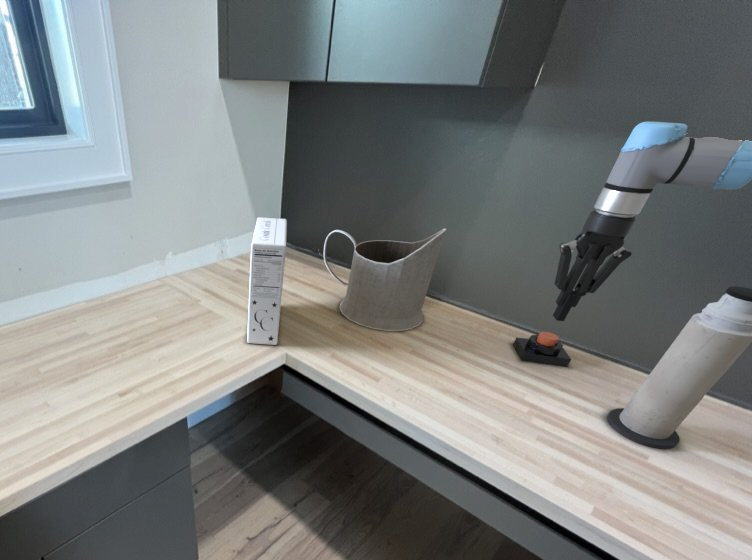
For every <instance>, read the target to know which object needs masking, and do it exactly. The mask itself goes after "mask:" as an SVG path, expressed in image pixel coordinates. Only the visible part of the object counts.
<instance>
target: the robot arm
mask: <svg viewBox="0 0 752 560" xmlns="http://www.w3.org/2000/svg"><path fill="white" fill-rule="evenodd" d="M687 131H688V125H687V124H686V123H682V122H681V123H679V122H667V121H666V122H665V121H642V122H640V123H638V124H637V125H635V126H634V128H633V129H632V131H631V133H630V134H629V136H628V138H627V140H626V142H625V143H624V145H623V147H622V148H621V149H620V152H619V155H618V157H617V159H616V160H615V163H614V165H613V166H612V169H611V171H610V173H609V175H608V177H607V180H606V181H605V183H604V185H603V187H602V189H601V191H600V193H599V195H598V197H597V198H596V201H595V203H594V205H593V208H594V210H591V211H590V212H589V214H588V217H587V219H586V221H585V223H584V225H583V227H582V230H581V232H580V233H579V234H578V235H576V237H575V238H574V240H571V241H568V242H567V243H566V242H561V243H560V244H559V246H558V247H559V251H560V257H559V260H558V266H557V271H556V275H555V279H554V285H555V287H556V288H557V289H558V290H560V293H559V294H558V296H557V298H556V300H555V303H556V305H557V306H556V308H555V310H554V312H553V314H552V317H553V318H554V319H555V320H556V321H558V322H564V321H565V320H566V318H567V317H568V314H569V312H570V311H571V309H572V308H576V307H577V306H578V304H579V302H580V300H581V299H582V297H585V296H586V295H587V294H589V293H590V294H595V292H597V291H598V290H599V288H600V287H601V286H602V285H603V283H605V281H606V280H607V279H608V278H609V277H610V276H611V275H612V273H613V272H615V270H616V269H617V268H618V267H619V266H620V265H621V263H623V262H624V261H626V260H627V259H628V258H630V257H631V256H632V252H631V251H630V250H628V249H627V248H625V246H624V244H625V238H626V237H627V235H628V234H630V231H631V229H632V227H633V225H634V224H635V222H636V220H637V218H636V216H637V215H640V213H641V211H642V210H643V208H644V206H645V204H646V202H647V201H648V199H649V197H650V195H651V193H652V192H653V190H654V188H655V187H656V185H657V184H666V185H668V184H669V185H671V184H672V185H679V186H688V187H695V188H696V187H697V188H704V189H705V188H706V189H712V190H714V191H715V190H733V191H734V190H738V189H741V188H743V187H744V186H746V185H747V184H749V183H750V182H751V181H752V141H749V140H745V141H742V140H728V139H724V138H719V137H703V138H692V137H685V135H686V134H687ZM575 248H576V252H577V254H576V256H575V260H574V263H573V264H572V267H571V269H570V265H571V261H572V258H573V257H572V256H573V255H572V253H574V252H575ZM608 257H609V258H608ZM606 258H608V259H607V260H606ZM605 260H606V261H605Z"/></svg>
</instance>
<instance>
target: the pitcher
mask: <svg viewBox="0 0 752 560" xmlns="http://www.w3.org/2000/svg"><path fill="white" fill-rule="evenodd" d="M446 232H447V228H442V229H440V230H439V231H438V232H436V233H434V234H432V235H430V236H429V237H427V238H424V239H422V240H418V241H415V242H407V241H398V240H388V239H387V240H384V239H383V240H381V239H380V240H379V239H376V240H367V241H363V242H359V243H357V242H356V239H355V238H354V237H353V236H352V235H351V234H350V233H348V232H346V231H344V230H342V229H334V230H332V231H331V232H329V233H328V234H327V236H326V238H325V240H324V245H323V262H324V264H325V267H326V269H327V271H328V272H329V273H330V275H331V276H332V277H333V278H334V279H335V280H336V281H337V282H339V284H341V285H343V286H347V288H346V293H345V296H344V297H343V299H342V300H341V301H340V305H339V310H340V312H341V314H342V315H343V316H344V317H345V318H347V319H348V320H349V321H351V322H353V323H355V324H357V325H360V326H362V327H366V328H368V329H372V330H378V331H386V332H401V331H402V332H403V331H409V330H412V329H414V328H417V327H418V326H420V325H421V324H422V322H423V321H424V319H423V311H422V309H423V307H424V303H425V300H426V297H427V294H428V290H429V287H430V284H431V281H432V277H433V274H434V271H435V267H436V265H437V261H438V258H439V255H440V252H441V248H442V245H443V242H444V239H445V236H446ZM334 233H340V234H343V235H345V236H346V237H347V238H349V239H350V241H351V242H352V244H353V247H354V251H353V255H352V262H351V267H350V273H349V277H348V281H347V282H345V281H343V280H341V279H340V278H339V277H338V276H337V275H336V274H335V273H334V271H333V270H332V268H331V267H330V265H329V263H328V259H327V245H328V241H329V239H330V236H331V235H332V234H334Z"/></svg>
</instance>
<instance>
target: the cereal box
mask: <svg viewBox="0 0 752 560" xmlns="http://www.w3.org/2000/svg"><path fill="white" fill-rule="evenodd" d="M287 227H288V220H287V219H286V218H275V217H274V218H273V217H257V218H256V223H255V227H254V231H253V236H252V239H251V240H252V241H251V244H250V267H249V286H248V287H249V289H248V290H249V291H248V310H247V333H246V334H247V335H246V336H247V337H246V338H247V339H246V343H248V344H255V345H256V344H258V345H272V346H277V345H278V339H279V329H280V317H281V308H282V307H281V306H282V296H283V284H284V276H285V274H284V273H285V265H286V264H285V263H286V255H287V254H286V252H287V233H288V232H287V229H288V228H287Z"/></svg>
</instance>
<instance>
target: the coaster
mask: <svg viewBox="0 0 752 560" xmlns="http://www.w3.org/2000/svg"><path fill="white" fill-rule="evenodd" d="M624 408H625V407H624ZM624 408H623V407H619V408H613V409H612V410H610V411H609V412H608V414H607V415H606V419H607V422H608V424H609V425H610V426H611V428H613V430H615V431H616V432H617V433H619V435H622V436H623V437H625V438H626V439H629V440H630V441H633V442H635V443H637V444H640V445H642V446H645V447H648V448H653V449H661V450H668V449H672V448H674V447H676V446H677V445H678V444H679V443H680V440H681V439H680V435H679V434H678V432H677V431H676V430H675V431H674V432H673V433H672V434H671V436H670V437H668V438H666V439H654V438H650V437H646V436H643V435H641V434H638V433H636V432H634V431H632V430H631V429H629V428H628V427H626V426H625V425H624V424H623V423H622V422H621V421H620V418H619V416H620V414H621V412H622V411H623V410H624Z"/></svg>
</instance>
